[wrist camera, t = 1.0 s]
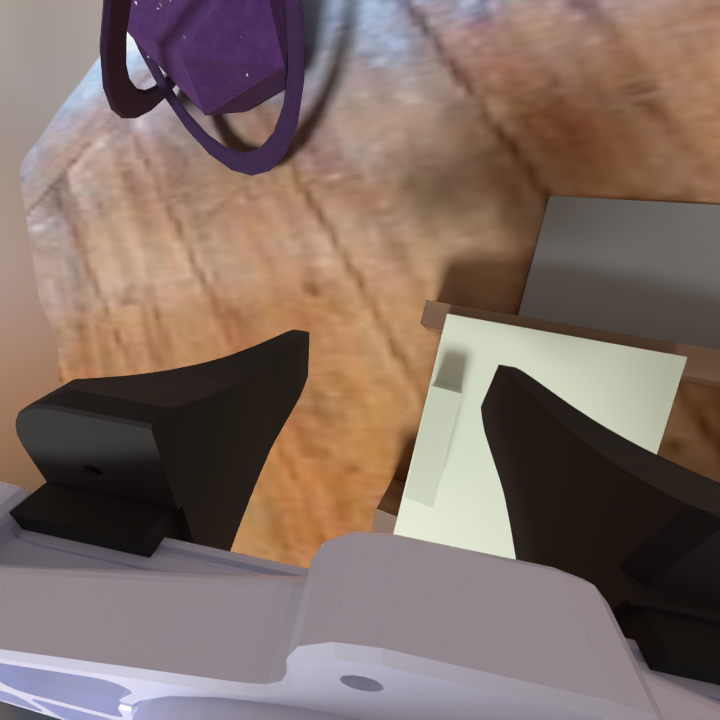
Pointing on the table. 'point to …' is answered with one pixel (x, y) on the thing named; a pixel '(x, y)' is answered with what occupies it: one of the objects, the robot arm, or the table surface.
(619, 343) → the brown wooden frame
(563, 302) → the mat
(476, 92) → the table surface
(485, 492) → the cover
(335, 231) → the table surface
